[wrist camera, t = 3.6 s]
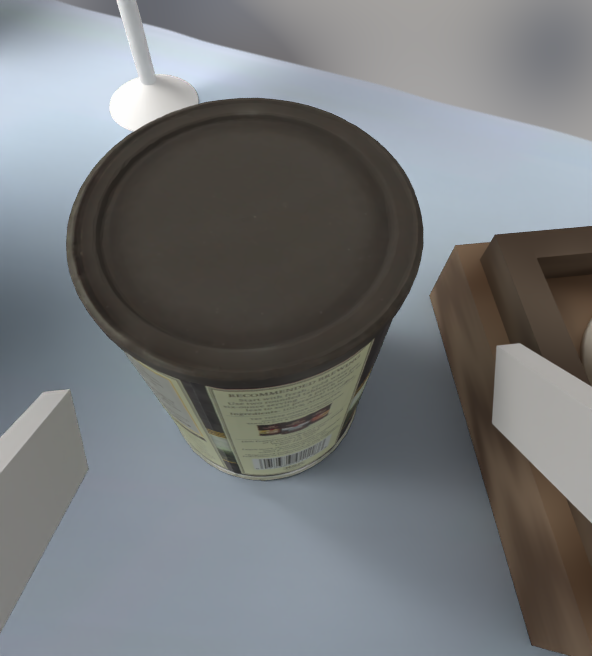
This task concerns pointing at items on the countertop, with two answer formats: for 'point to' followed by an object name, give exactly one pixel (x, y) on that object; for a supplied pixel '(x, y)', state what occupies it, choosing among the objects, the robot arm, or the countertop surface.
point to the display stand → (477, 403)
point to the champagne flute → (146, 81)
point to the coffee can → (248, 272)
